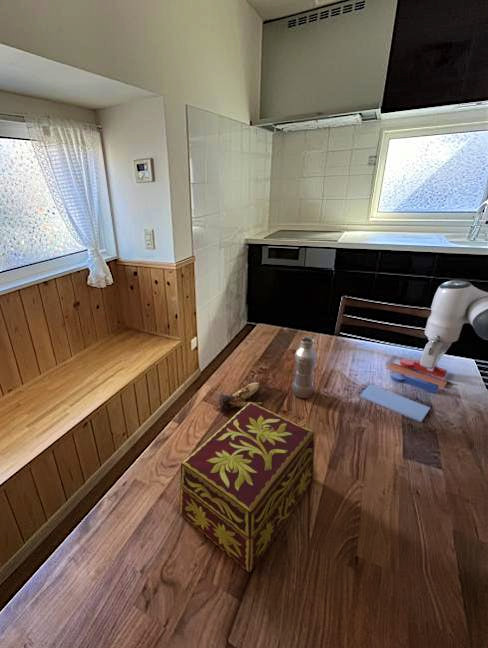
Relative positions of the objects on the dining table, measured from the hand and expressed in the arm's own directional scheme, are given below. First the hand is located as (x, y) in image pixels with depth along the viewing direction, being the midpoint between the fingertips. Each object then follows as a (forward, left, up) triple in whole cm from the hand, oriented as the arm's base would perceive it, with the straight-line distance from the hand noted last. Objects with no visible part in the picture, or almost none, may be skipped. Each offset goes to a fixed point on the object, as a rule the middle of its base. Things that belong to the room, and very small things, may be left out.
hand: (431, 368), depth 112 cm
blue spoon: (+3, +8, -4) cm, 9 cm away
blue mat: (+3, +22, -4) cm, 22 cm away
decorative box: (+14, +78, -4) cm, 79 cm away
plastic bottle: (+25, +37, -4) cm, 45 cm away
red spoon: (+4, 0, -2) cm, 4 cm away
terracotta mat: (+3, 0, -4) cm, 5 cm away
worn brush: (+36, +53, -4) cm, 65 cm away
